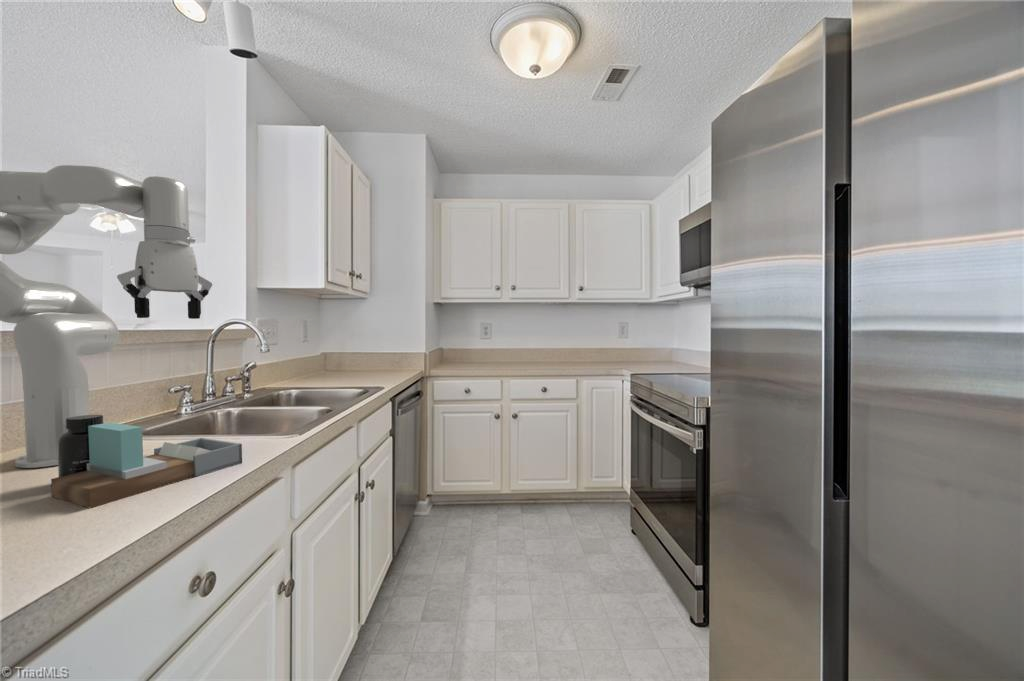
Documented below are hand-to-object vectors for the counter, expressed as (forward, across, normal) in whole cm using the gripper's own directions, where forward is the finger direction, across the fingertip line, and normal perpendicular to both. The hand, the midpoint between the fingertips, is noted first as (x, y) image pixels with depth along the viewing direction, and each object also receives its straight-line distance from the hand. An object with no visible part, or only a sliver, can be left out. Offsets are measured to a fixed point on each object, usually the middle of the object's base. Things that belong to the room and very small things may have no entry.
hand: (169, 318), depth 91 cm
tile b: (+28, +4, +14) cm, 32 cm away
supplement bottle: (+31, +15, +1) cm, 34 cm away
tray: (+30, +2, +11) cm, 32 cm away
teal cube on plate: (+27, +13, +11) cm, 32 cm away
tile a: (+28, +4, +8) cm, 30 cm away
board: (+30, +14, +11) cm, 35 cm away
